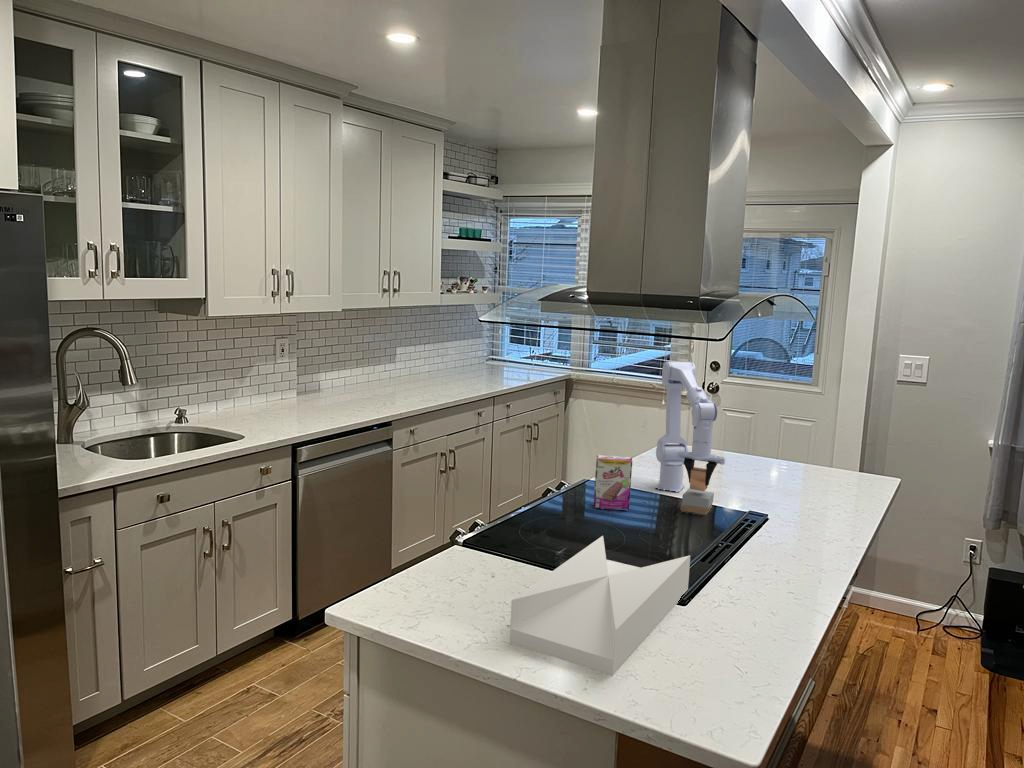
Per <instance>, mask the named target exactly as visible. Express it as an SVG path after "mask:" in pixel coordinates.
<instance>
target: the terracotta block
mask: <svg viewBox="0 0 1024 768" xmlns="http://www.w3.org/2000/svg"><path fill="white" fill-rule="evenodd" d="M705 484H706V468H703V467H699V466H698V467H696V466H694V468H693V469H692V470H691V477H690V483H689V489H693V490H699V491H706V490H707V489H708V486H706V485H705Z"/></svg>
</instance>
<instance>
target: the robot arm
mask: <svg viewBox="0 0 1024 768" xmlns="http://www.w3.org/2000/svg"><path fill="white" fill-rule="evenodd" d="M696 369H697V368H696V365H695V363H694V362H693V361H669V360H668V361H665V362H664V363H663V365H662V368H661V382H662V385H663V386H664V387H665V388H666V390H665V391H666V398H665V399H666V402H665V406H666V407H665V411H666V412H665V434H664V435H663V436H661V437H660V438H659V439H657V443H656V444H657V445H656V449H655V457H656V460H657V461H658V462H659V463H660V465H659V466H660V469H659V470H660V471H659V480H658V481H659V484H658V485H656V486H655V488H659V489H665V490H670V491H669V492H671V491H677V492H676V493H679V492H680V491H681V490H682V489H684V487H686V485H685V484H683V478H684V477H683V476H684V467H685V469H686V472H687V478H688V484H690V477H691V470H692V469H693V468H694V467H695V461H698V462H705V463H706V466H705V467H706V468H705V469H706V484H705V485H706V486H707V487H708V486H709V485H710V481H711V477H712V476H713V475H712V474H713V473H714V471H715V469H716V468H717V465H718V464H719V465H722V466H723V465H724V466H725V464H726V457H724V456H719V455H715V454H711V453H712V444H713V443H712V441H713V429H714V428H713V427H714V422H715V421H716V420H717V417H718V407H717V404H716V403H715V402H713V401H711V400H709V398H708V396H707V394H706V391H705V390H704V389H703V388H702V387H700V386H698V383H697V381H696V380H697V379H696V373H697V370H696ZM683 387H684V389H685V390H686V391H687V392H686V393H685V394H686V395H685V396H686V399H687V402H688V403H689V405H690V407H691V422H692V423H691V424H692V426H693V430H692V431H693V433H692V444H691V451H689V447H688V441H687V439H685V438H684V437H683V436H682V435H681V421H682V420H681V415H682V412H681V411H682V408H681V407H682V405H681V404H682V403H681V402H682V389H683ZM683 465H684V466H683ZM659 489H658V490H659ZM665 490H664V491H665Z"/></svg>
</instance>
